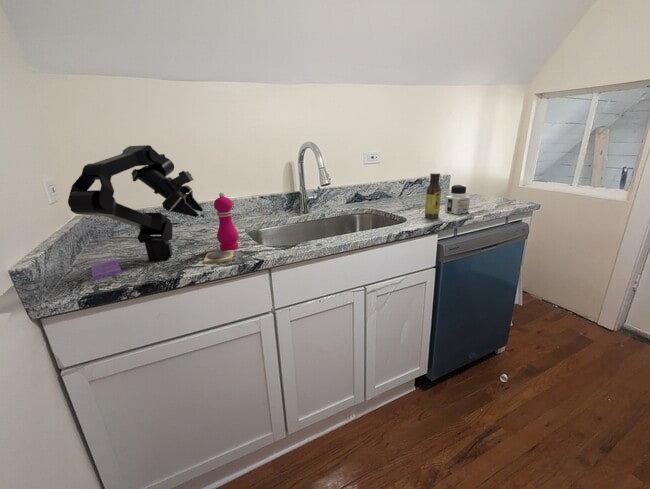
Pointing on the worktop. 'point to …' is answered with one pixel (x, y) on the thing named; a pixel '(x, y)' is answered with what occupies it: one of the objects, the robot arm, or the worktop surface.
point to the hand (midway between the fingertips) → (200, 213)
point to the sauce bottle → (433, 197)
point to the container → (457, 200)
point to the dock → (218, 256)
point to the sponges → (105, 269)
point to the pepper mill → (225, 224)
